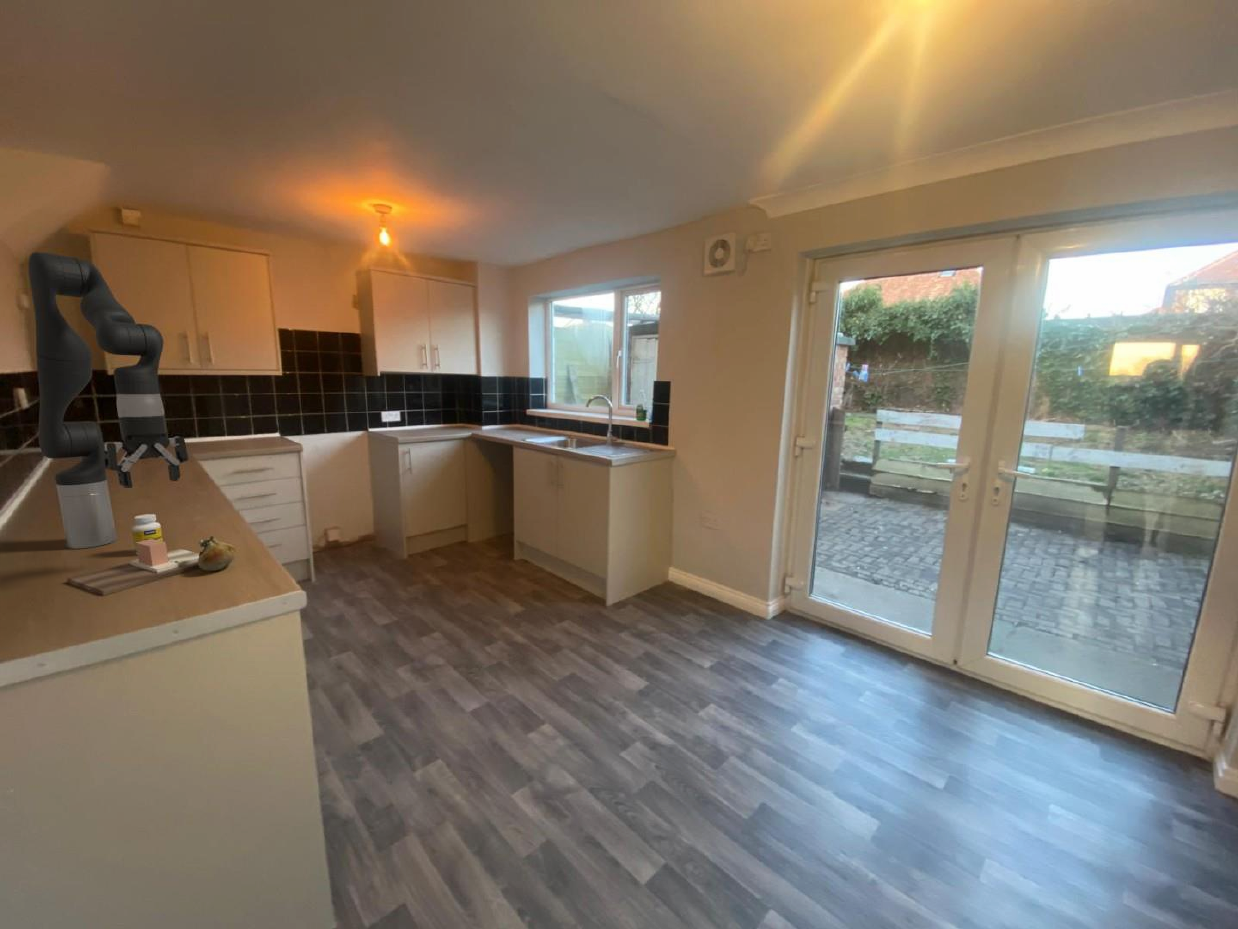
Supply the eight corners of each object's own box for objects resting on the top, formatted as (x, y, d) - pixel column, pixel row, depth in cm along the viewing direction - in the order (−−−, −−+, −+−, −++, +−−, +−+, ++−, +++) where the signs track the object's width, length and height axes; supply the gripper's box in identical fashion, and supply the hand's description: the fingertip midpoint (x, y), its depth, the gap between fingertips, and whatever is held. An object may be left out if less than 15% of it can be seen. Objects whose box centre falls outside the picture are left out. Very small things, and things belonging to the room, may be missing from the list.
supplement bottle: (146, 556, 126) (140, 519, 124) (130, 554, 127) (124, 518, 125) (169, 549, 131) (164, 514, 129) (153, 548, 132) (148, 512, 130)
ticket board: (67, 582, 109) (66, 574, 109) (176, 554, 128) (175, 547, 127) (104, 595, 103) (102, 587, 103) (213, 564, 121) (212, 556, 121)
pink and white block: (130, 564, 118) (126, 541, 117) (151, 559, 121) (147, 536, 120) (157, 572, 113) (153, 548, 112) (178, 566, 116) (175, 543, 116)
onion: (192, 578, 113) (187, 544, 112) (203, 566, 120) (199, 534, 119) (233, 573, 116) (228, 540, 115) (241, 561, 123) (238, 531, 122)
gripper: (170, 411, 119) (179, 477, 122) (90, 415, 106) (101, 488, 109) (188, 413, 116) (197, 480, 119) (108, 416, 103) (119, 492, 106)
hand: (151, 484), depth 114 cm, fingers open, 8 cm apart
